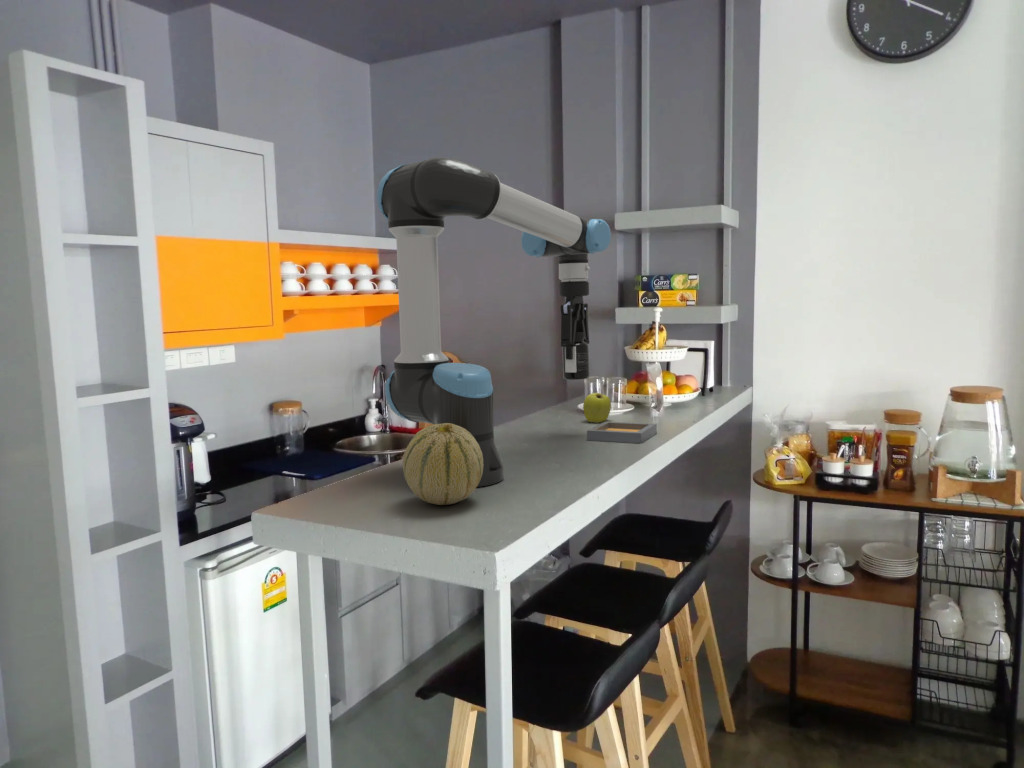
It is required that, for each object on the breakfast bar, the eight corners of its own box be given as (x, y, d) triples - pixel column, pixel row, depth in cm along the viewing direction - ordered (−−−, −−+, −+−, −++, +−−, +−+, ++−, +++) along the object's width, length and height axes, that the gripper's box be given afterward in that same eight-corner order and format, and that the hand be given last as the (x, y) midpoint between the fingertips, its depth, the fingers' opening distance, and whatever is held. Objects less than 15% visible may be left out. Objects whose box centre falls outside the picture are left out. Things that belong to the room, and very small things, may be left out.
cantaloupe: (445, 488, 148) (441, 412, 146) (502, 500, 139) (499, 418, 137) (386, 506, 137) (382, 424, 135) (444, 520, 127) (440, 432, 126)
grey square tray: (641, 443, 185) (640, 433, 185) (587, 440, 191) (586, 430, 191) (656, 433, 198) (656, 423, 197) (605, 430, 204) (605, 421, 203)
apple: (578, 416, 222) (587, 383, 221) (604, 423, 222) (614, 391, 221) (579, 421, 214) (589, 387, 213) (606, 428, 214) (616, 395, 213)
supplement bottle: (589, 376, 199) (588, 330, 197) (589, 379, 192) (588, 332, 191) (563, 377, 199) (561, 331, 198) (562, 380, 193) (561, 333, 191)
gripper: (574, 280, 182) (576, 375, 185) (600, 280, 200) (602, 366, 203) (545, 281, 185) (548, 374, 188) (573, 281, 203) (575, 366, 206)
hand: (576, 370), depth 195 cm, fingers closed on supplement bottle, 7 cm apart
